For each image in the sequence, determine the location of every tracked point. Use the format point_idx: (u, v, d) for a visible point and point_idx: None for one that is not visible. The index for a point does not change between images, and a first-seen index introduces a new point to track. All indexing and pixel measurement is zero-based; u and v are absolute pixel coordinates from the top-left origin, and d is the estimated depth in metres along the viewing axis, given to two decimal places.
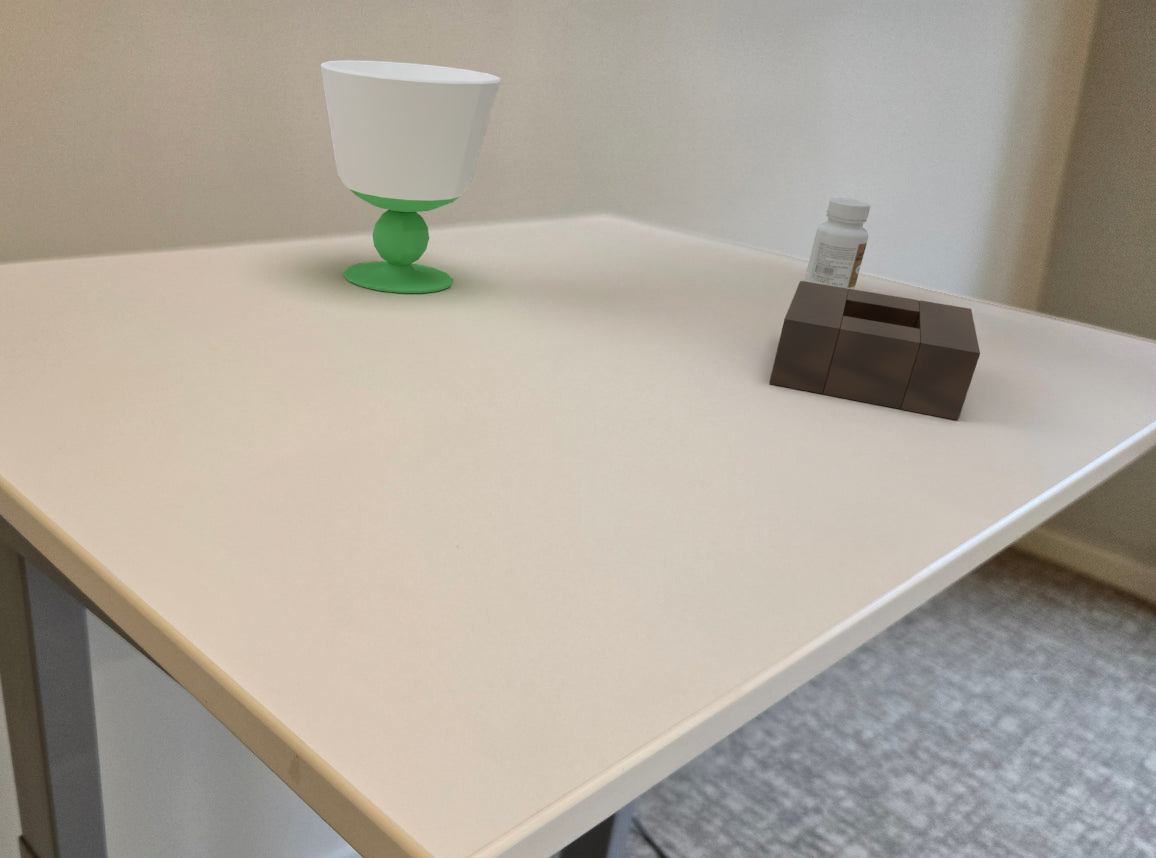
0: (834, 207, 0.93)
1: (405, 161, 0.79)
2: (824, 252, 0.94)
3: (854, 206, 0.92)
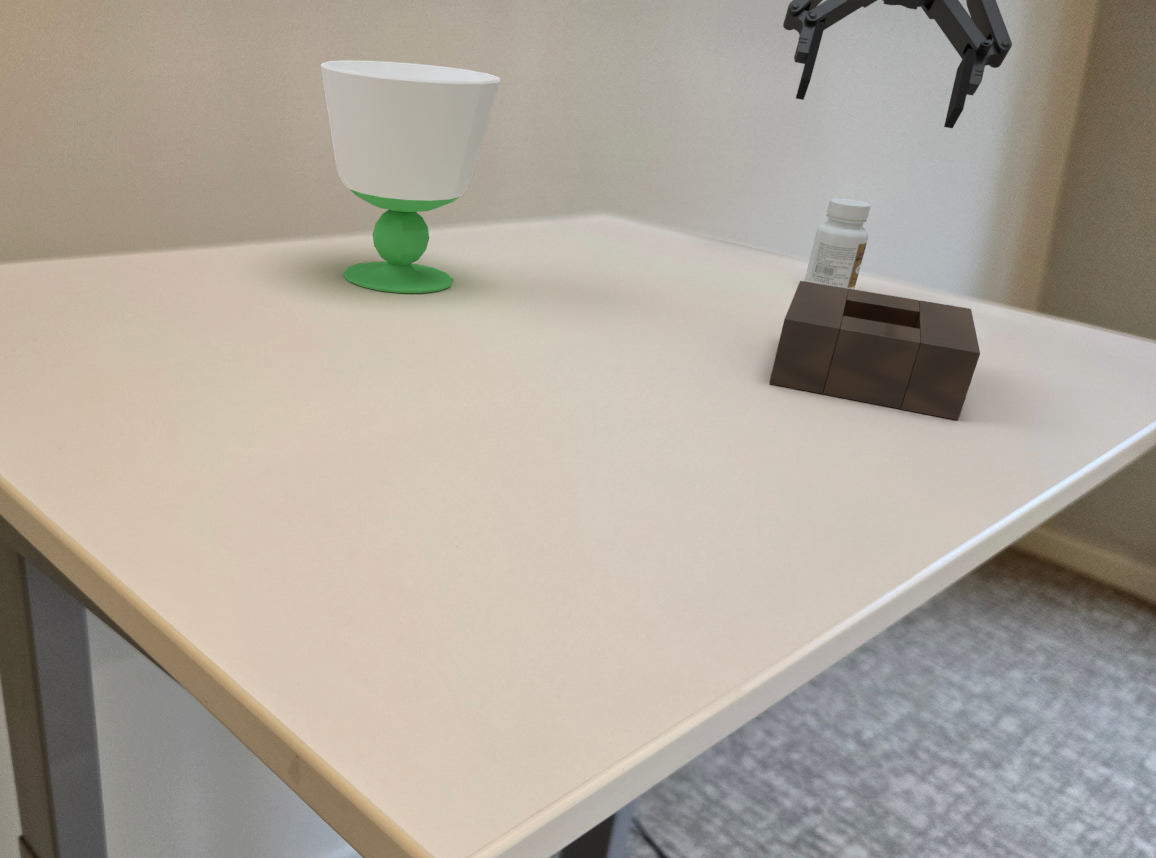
0: (834, 207, 0.93)
1: (405, 161, 0.79)
2: (824, 252, 0.94)
3: (854, 206, 0.92)
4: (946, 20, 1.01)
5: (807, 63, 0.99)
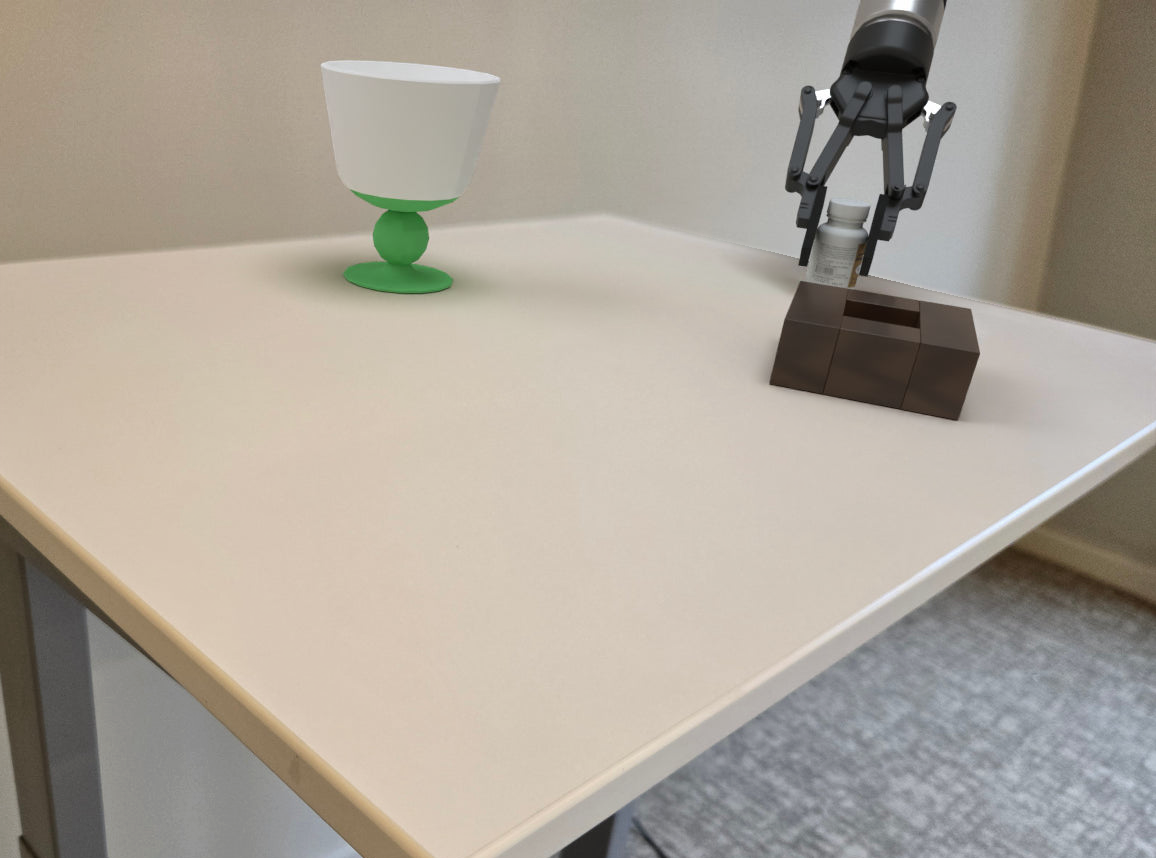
0: (834, 207, 0.93)
1: (405, 161, 0.79)
2: (824, 252, 0.94)
3: (854, 206, 0.92)
4: (885, 154, 0.95)
5: (807, 231, 0.93)
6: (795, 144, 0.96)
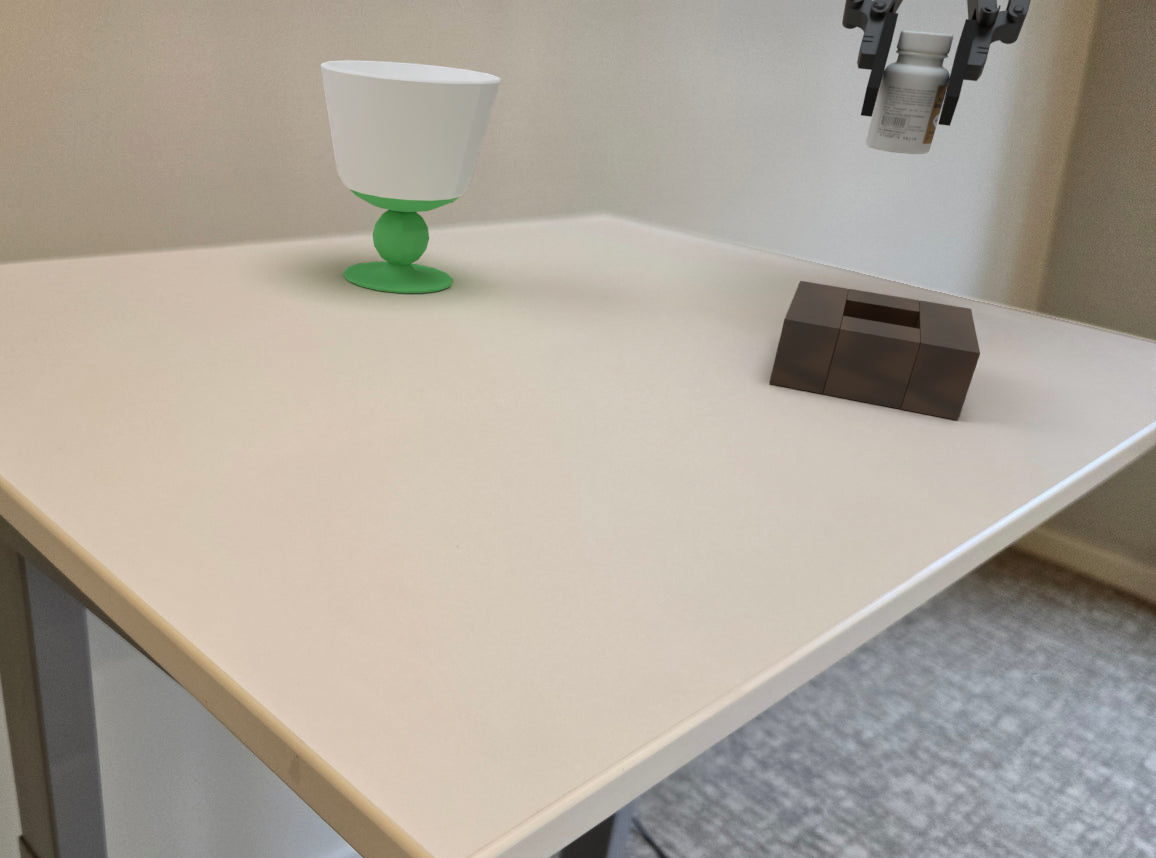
0: (907, 38, 0.74)
1: (405, 161, 0.79)
2: (894, 97, 0.75)
3: (933, 34, 0.73)
4: None
5: (873, 67, 0.73)
6: None
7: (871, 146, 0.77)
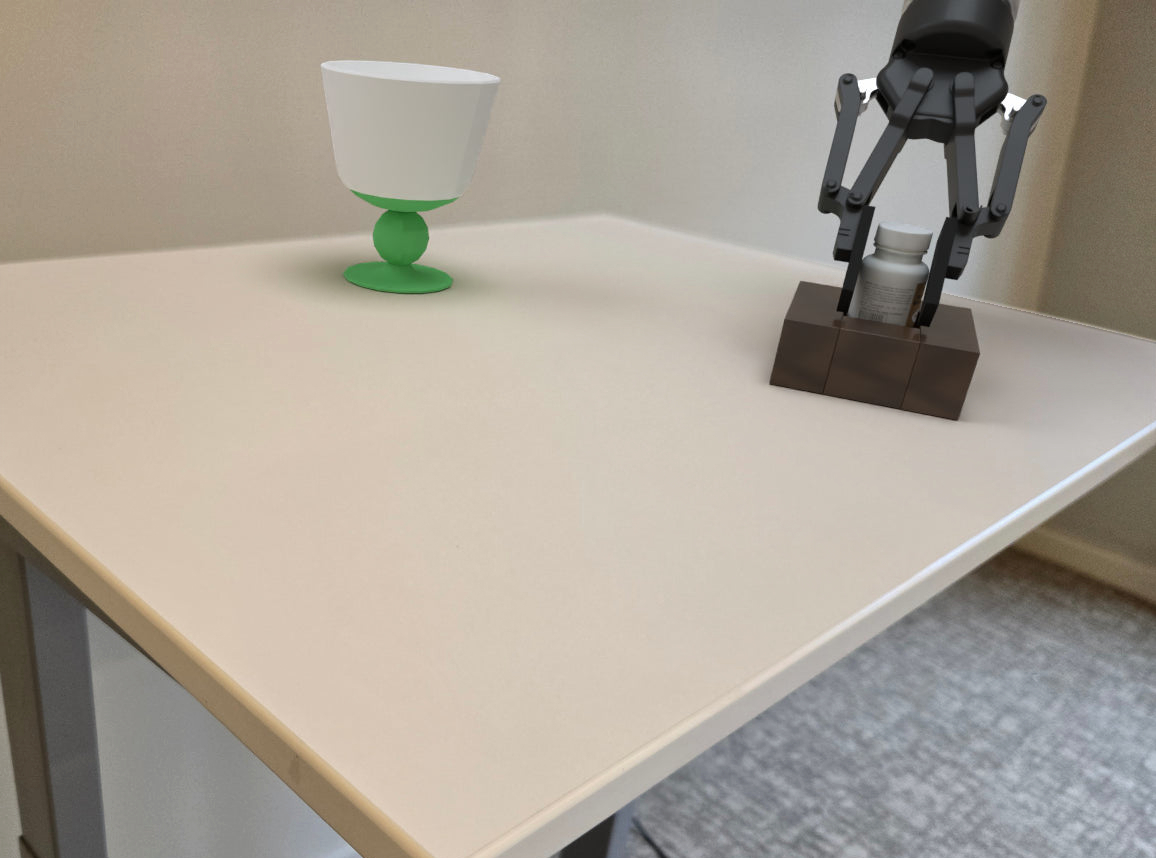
0: (884, 234, 0.70)
1: (405, 161, 0.79)
2: (871, 293, 0.71)
3: (912, 233, 0.69)
4: (951, 164, 0.72)
5: (849, 266, 0.70)
6: (832, 150, 0.73)
7: None
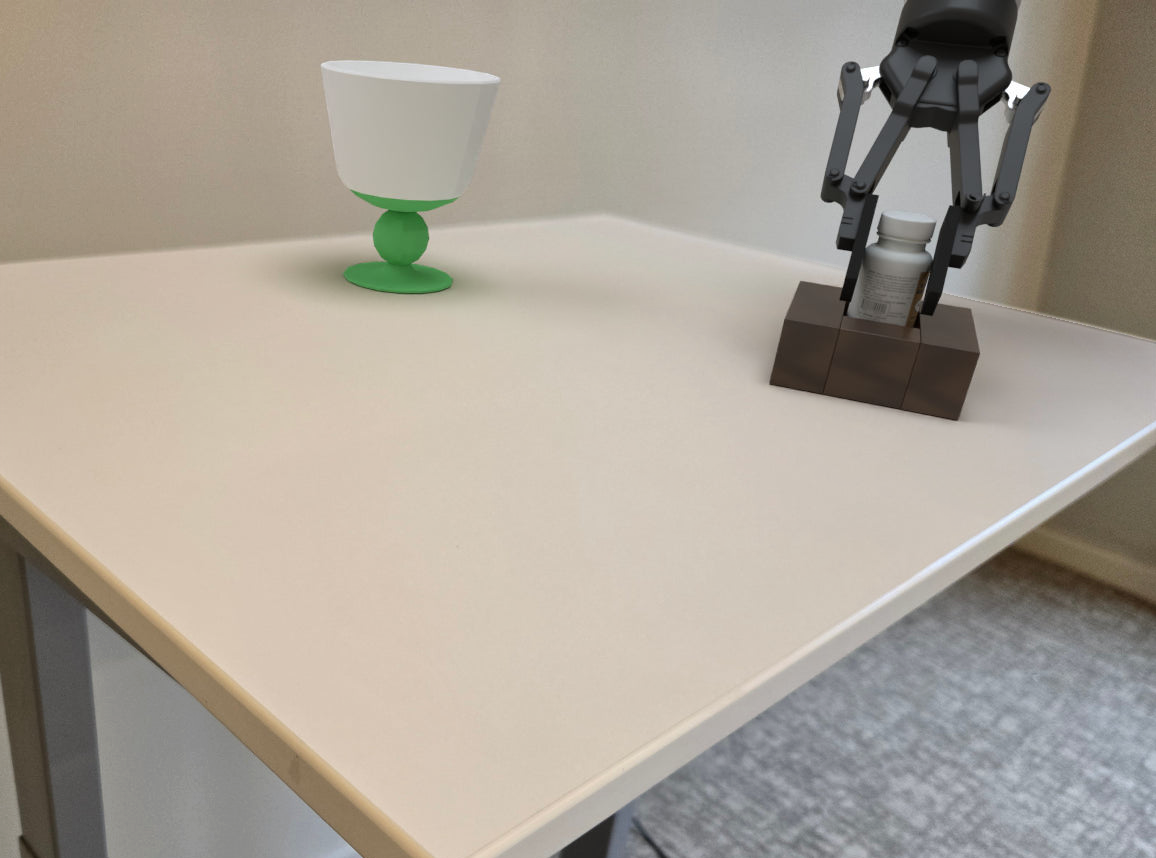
0: (888, 223, 0.70)
1: (405, 161, 0.79)
2: (874, 282, 0.71)
3: (916, 222, 0.69)
4: (954, 152, 0.72)
5: (852, 255, 0.69)
6: (835, 139, 0.72)
7: None
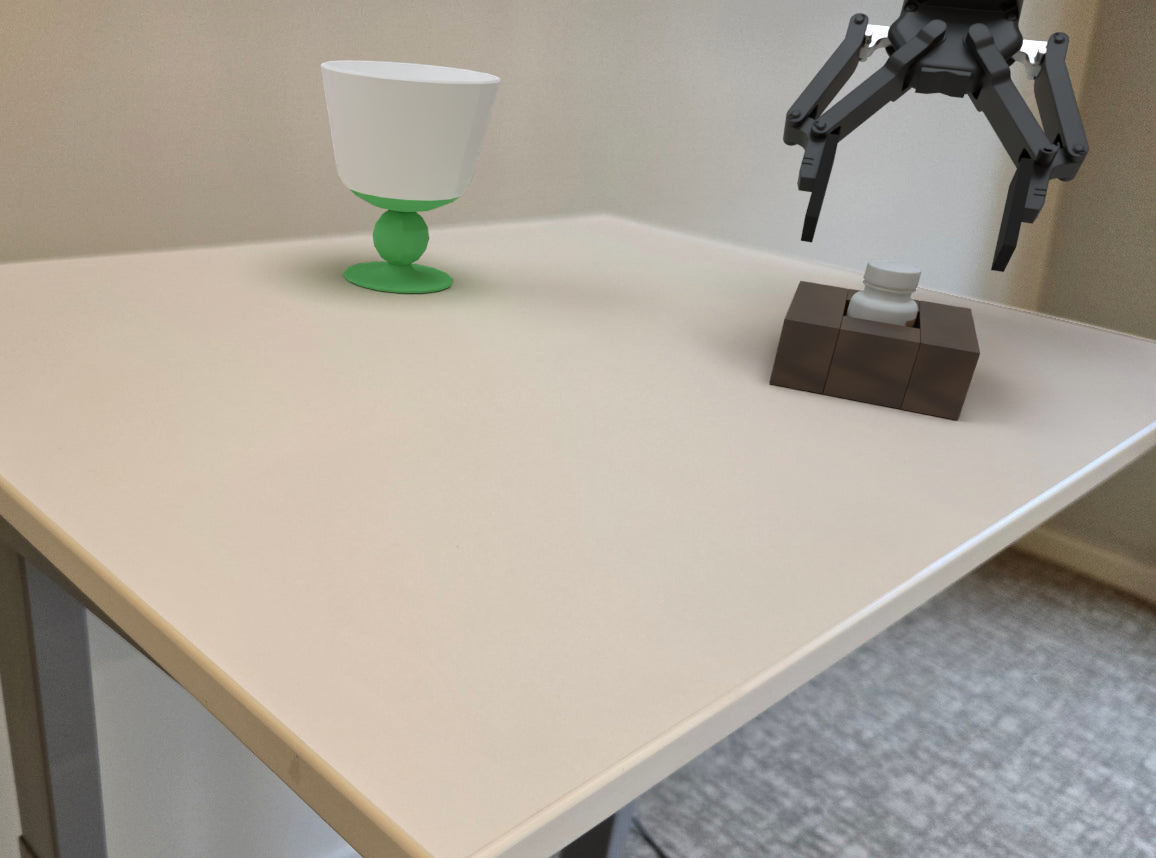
0: (874, 273, 0.71)
1: (405, 161, 0.79)
2: None
3: (901, 272, 0.70)
4: (997, 114, 0.70)
5: (813, 193, 0.70)
6: (811, 82, 0.72)
7: None
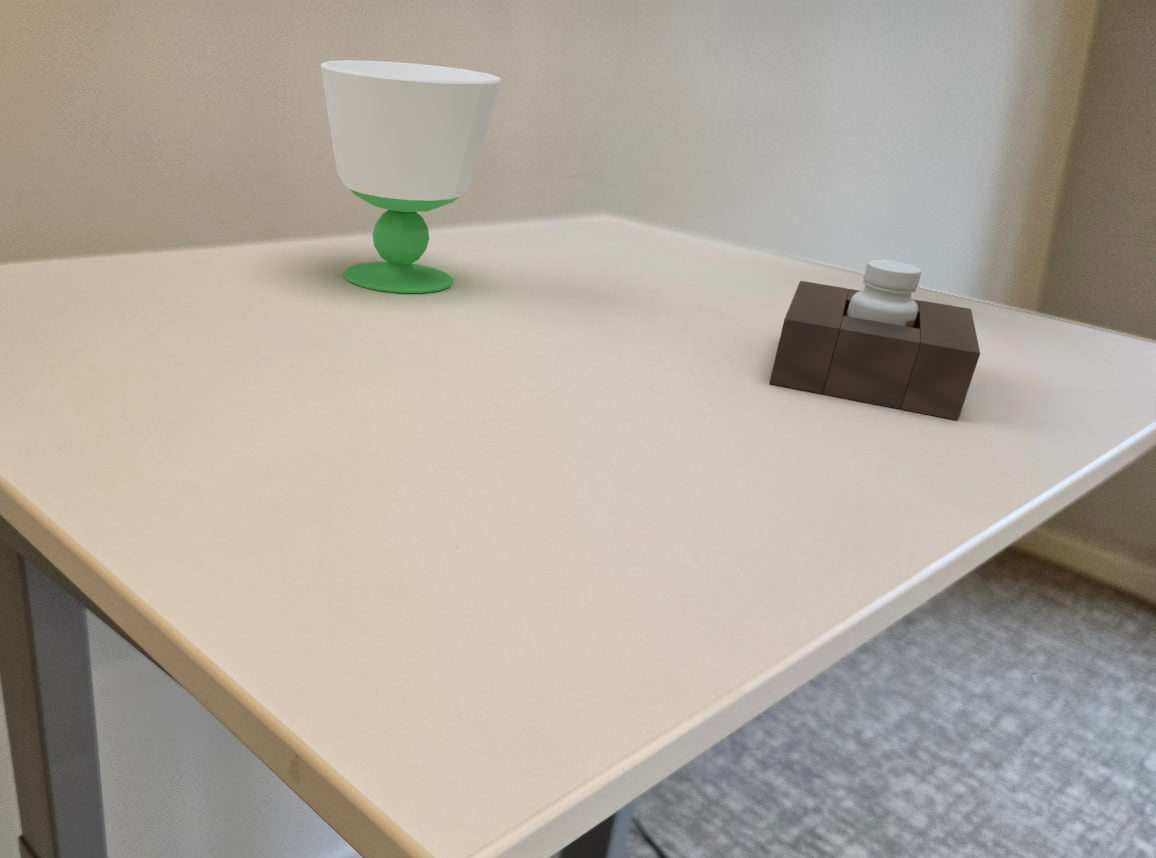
0: (874, 273, 0.71)
1: (405, 161, 0.79)
2: None
3: (901, 273, 0.70)
4: None
5: None
6: None
7: None
